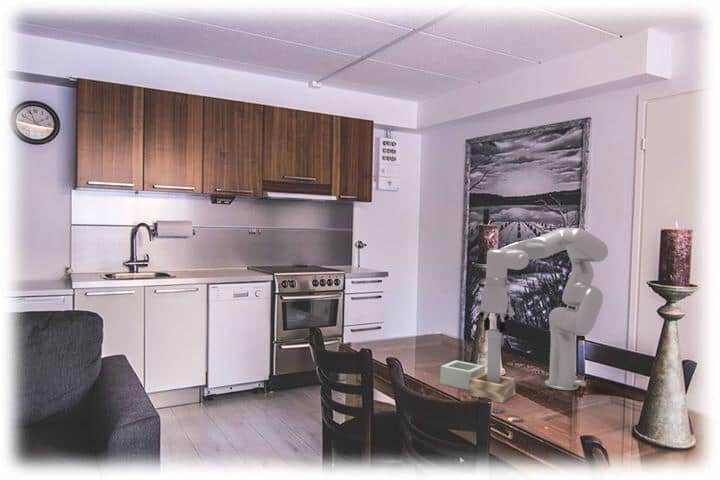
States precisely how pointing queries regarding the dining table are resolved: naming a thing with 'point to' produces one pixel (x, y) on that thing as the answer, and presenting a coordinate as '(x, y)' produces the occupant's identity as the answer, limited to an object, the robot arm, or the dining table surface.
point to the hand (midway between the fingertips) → (494, 330)
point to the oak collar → (492, 388)
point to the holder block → (459, 373)
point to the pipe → (494, 355)
